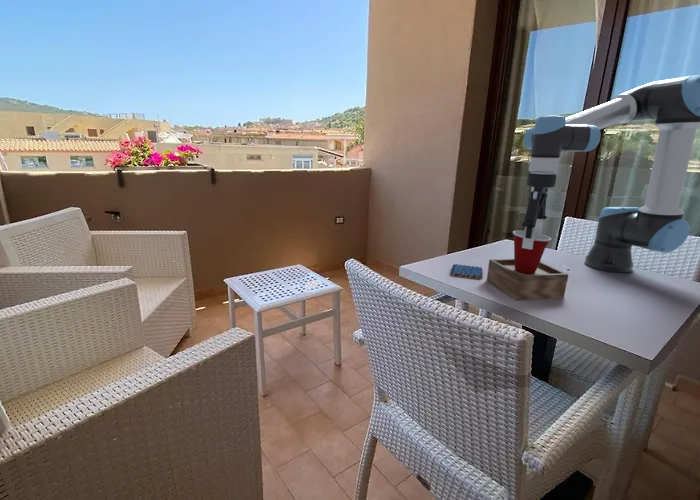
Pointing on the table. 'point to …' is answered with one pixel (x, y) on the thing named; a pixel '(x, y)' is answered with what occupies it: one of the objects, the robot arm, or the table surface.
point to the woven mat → (467, 271)
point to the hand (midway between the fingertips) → (531, 243)
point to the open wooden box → (527, 280)
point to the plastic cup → (528, 252)
